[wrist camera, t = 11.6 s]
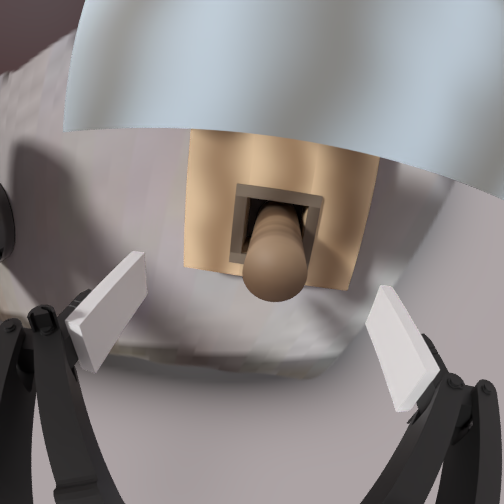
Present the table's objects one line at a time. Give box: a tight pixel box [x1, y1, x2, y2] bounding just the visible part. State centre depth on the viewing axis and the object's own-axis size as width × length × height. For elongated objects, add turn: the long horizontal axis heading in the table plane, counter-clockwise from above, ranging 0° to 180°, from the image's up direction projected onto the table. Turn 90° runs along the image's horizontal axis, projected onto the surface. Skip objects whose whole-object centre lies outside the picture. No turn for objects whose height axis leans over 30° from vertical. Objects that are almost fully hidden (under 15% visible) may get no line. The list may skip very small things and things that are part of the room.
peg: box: [242, 200, 308, 302], centre depth 23 cm, size 4×4×12 cm
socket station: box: [63, 0, 504, 291], centre depth 17 cm, size 16×22×20 cm
